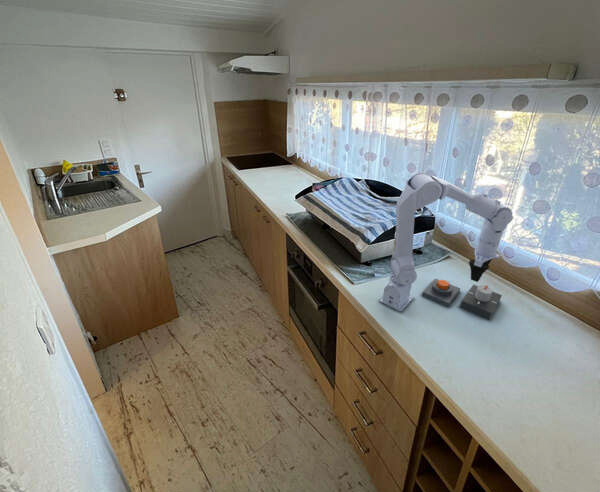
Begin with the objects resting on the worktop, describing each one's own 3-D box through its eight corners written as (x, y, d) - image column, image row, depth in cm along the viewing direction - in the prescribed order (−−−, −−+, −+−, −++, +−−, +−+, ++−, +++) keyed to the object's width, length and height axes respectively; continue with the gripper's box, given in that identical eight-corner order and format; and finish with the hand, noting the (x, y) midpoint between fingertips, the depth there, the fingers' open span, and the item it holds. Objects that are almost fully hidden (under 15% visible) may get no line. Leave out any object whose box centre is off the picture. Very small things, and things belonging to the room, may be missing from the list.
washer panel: (489, 320, 97) (491, 312, 96) (459, 307, 103) (461, 300, 101) (499, 301, 105) (502, 294, 103) (471, 290, 110) (473, 283, 109)
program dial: (487, 303, 100) (490, 294, 98) (472, 297, 102) (475, 288, 100) (491, 297, 102) (494, 288, 101) (477, 291, 105) (480, 282, 103)
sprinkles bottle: (404, 262, 127) (409, 234, 121) (396, 265, 126) (400, 236, 119) (396, 257, 131) (401, 229, 124) (388, 260, 129) (392, 231, 123)
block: (447, 307, 103) (450, 299, 101) (421, 295, 108) (423, 287, 107) (459, 291, 110) (461, 284, 108) (434, 281, 115) (436, 274, 114)
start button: (445, 291, 105) (446, 287, 105) (435, 287, 108) (436, 283, 107) (449, 286, 108) (450, 282, 107) (439, 282, 110) (440, 278, 109)
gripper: (497, 253, 89) (485, 290, 96) (508, 235, 98) (496, 270, 105) (471, 245, 93) (461, 281, 100) (484, 229, 103) (474, 262, 109)
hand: (477, 275), depth 103 cm, fingers open, 7 cm apart
